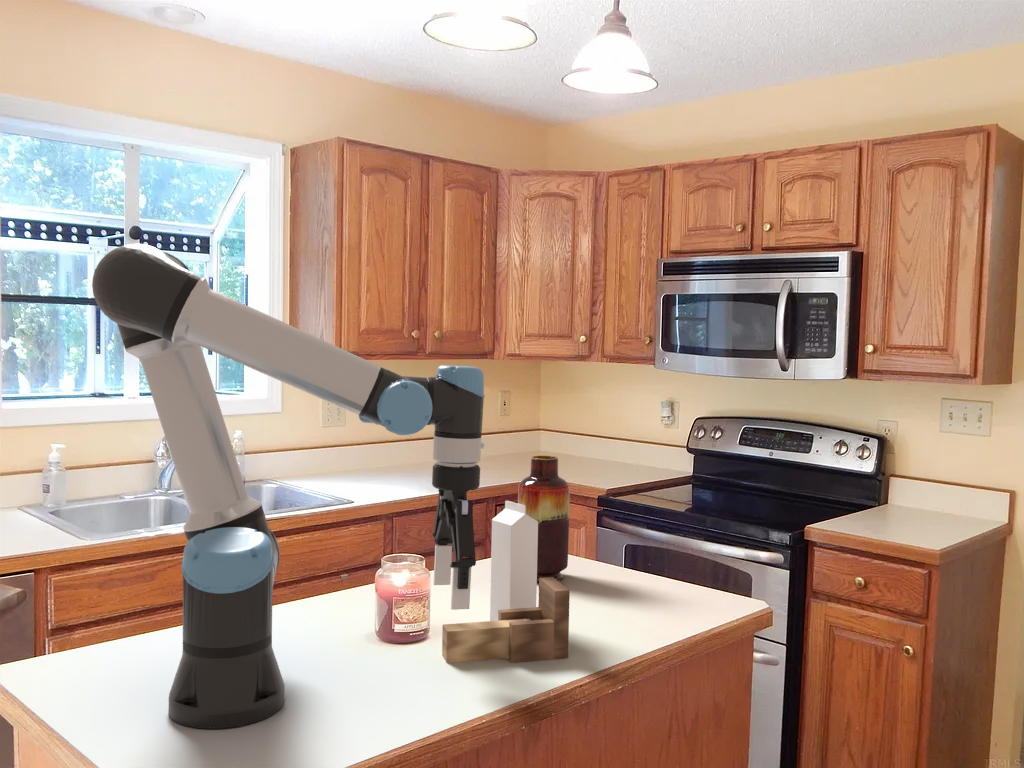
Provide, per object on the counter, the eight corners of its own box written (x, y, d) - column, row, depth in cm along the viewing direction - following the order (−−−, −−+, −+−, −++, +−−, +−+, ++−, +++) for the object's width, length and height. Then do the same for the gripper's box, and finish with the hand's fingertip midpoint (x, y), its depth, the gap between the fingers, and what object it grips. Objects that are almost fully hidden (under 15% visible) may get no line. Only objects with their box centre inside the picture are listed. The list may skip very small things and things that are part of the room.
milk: (509, 632, 154) (511, 507, 153) (489, 623, 159) (491, 501, 158) (536, 626, 158) (538, 503, 157) (516, 617, 163) (518, 498, 162)
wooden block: (446, 662, 139) (447, 631, 139) (442, 655, 142) (442, 624, 142) (534, 655, 143) (535, 624, 143) (528, 648, 146) (529, 618, 146)
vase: (512, 582, 186) (515, 459, 185) (520, 569, 197) (523, 453, 196) (564, 586, 184) (567, 461, 183) (570, 572, 195) (572, 455, 194)
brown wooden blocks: (511, 662, 140) (512, 593, 139) (497, 645, 147) (499, 580, 147) (568, 657, 142) (569, 590, 142) (551, 640, 150) (553, 576, 150)
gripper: (500, 475, 129) (493, 619, 130) (462, 453, 153) (456, 574, 154) (450, 475, 127) (443, 621, 128) (419, 452, 151) (413, 575, 151)
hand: (450, 596), depth 141 cm, fingers open, 13 cm apart
